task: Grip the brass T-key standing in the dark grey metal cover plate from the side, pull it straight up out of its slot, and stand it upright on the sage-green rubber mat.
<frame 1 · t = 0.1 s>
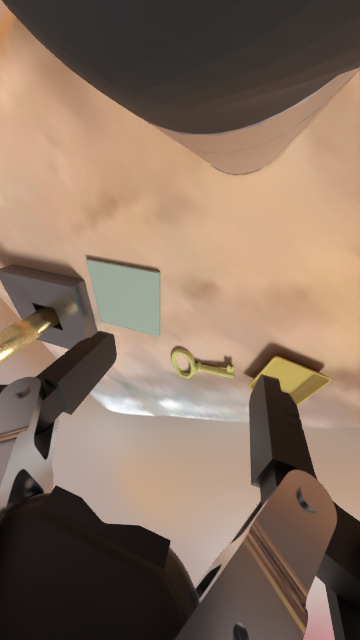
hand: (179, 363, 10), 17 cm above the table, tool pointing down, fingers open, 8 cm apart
key: (200, 361, 36), on the table
cover plate: (60, 309, 38), on the table
yellow square tray: (283, 372, 31), on the table
t key: (60, 309, 38), resting in cover plate
mat: (127, 299, 31), on the table
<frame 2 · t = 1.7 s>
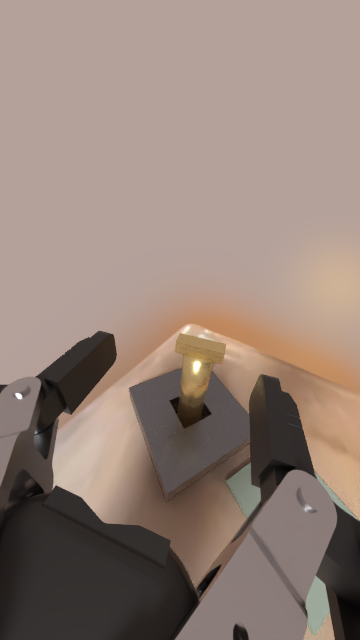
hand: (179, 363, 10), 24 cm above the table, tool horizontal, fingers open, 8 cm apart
cover plate: (188, 417, 32), on the table
t key: (188, 417, 32), resting in cover plate
mat: (292, 507, 23), on the table
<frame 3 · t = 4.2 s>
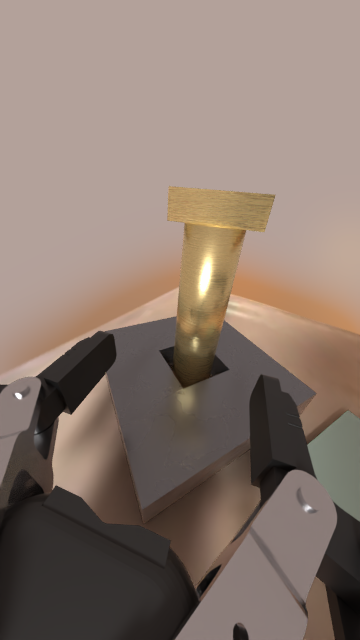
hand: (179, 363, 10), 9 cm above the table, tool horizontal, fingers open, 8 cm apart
cover plate: (189, 379, 20), on the table
t key: (189, 379, 20), resting in cover plate
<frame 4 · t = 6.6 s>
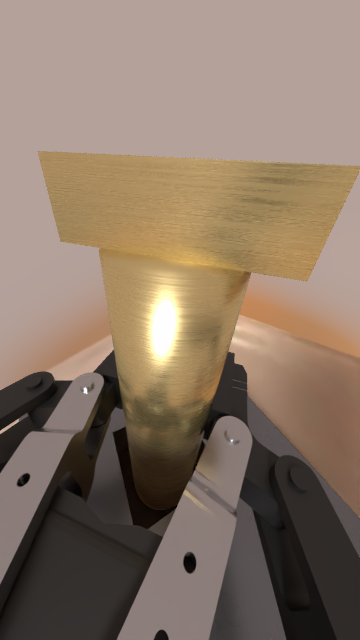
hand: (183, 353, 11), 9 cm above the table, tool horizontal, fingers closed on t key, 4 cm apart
cover plate: (162, 471, 13), on the table
t key: (162, 470, 13), resting in cover plate, touching gripper
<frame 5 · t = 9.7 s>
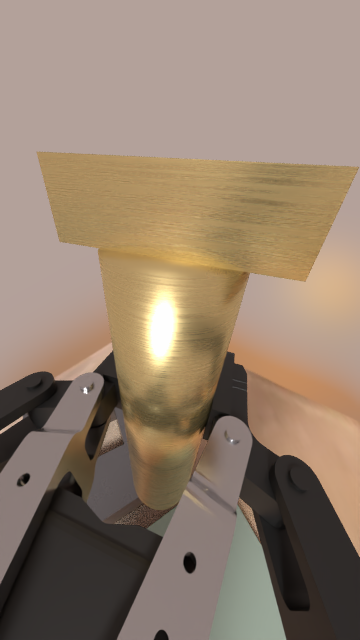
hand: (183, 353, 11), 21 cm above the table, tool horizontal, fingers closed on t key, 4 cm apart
cover plate: (101, 445, 25), on the table
t key: (162, 471, 13), point 12 cm above the table, touching gripper
mat: (209, 593, 16), on the table
when the fingers open (10 cm above the table, at t = 13.1 s): t key stays where it is, resting on mat.
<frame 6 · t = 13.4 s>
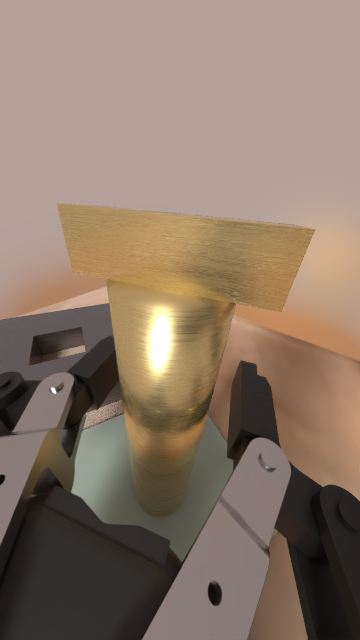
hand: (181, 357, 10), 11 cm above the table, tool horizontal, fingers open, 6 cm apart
cover plate: (65, 362, 23), on the table
t key: (161, 478, 14), point 1 cm above the table, touching mat
mat: (161, 479, 14), on the table
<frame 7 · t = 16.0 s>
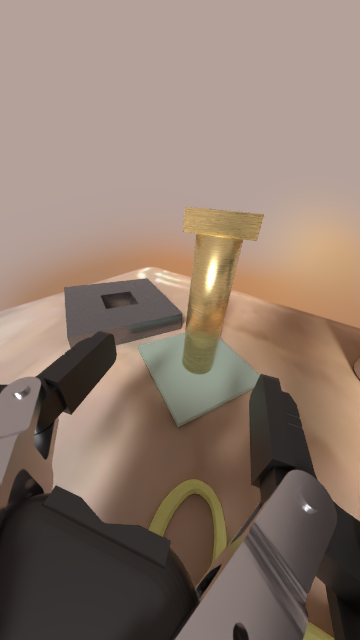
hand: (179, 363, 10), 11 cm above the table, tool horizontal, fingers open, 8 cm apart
key: (233, 590, 11), on the table
cover plate: (120, 314, 33), on the table
t key: (197, 362, 24), point 1 cm above the table, touching mat
mat: (196, 364, 24), on the table
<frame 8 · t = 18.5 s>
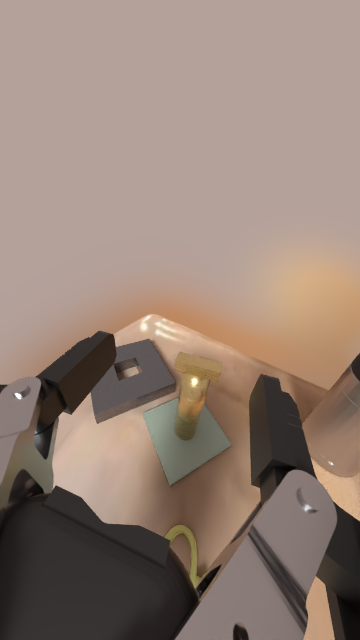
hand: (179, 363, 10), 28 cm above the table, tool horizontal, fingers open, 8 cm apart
key: (201, 587, 21), on the table
cover plate: (128, 377, 43), on the table
t key: (185, 428, 34), point 1 cm above the table, touching mat
mat: (184, 429, 34), on the table
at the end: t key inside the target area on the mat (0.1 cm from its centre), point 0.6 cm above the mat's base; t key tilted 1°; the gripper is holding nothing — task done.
